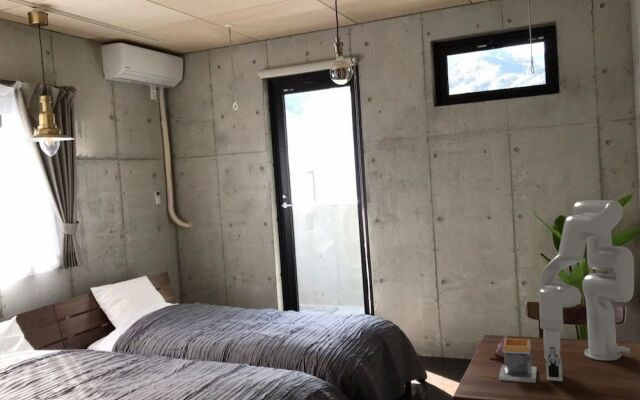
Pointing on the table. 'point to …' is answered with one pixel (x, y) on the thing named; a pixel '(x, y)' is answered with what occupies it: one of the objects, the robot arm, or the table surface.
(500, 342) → the lily
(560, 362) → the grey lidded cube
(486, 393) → the table surface
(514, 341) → the grey and orange container
